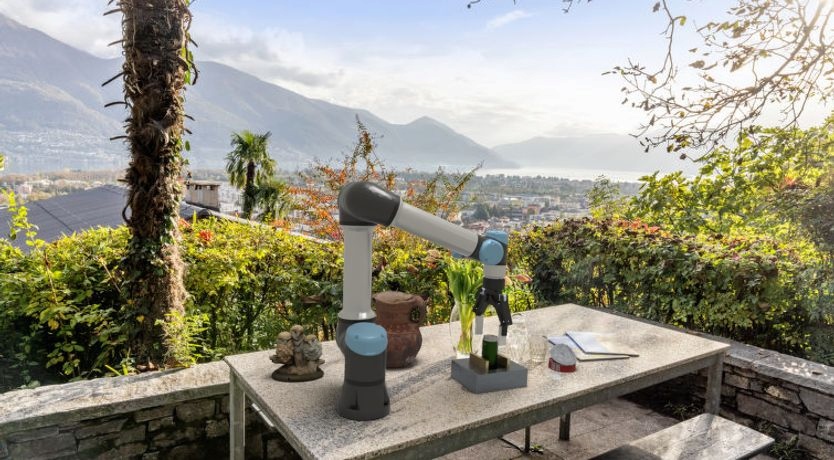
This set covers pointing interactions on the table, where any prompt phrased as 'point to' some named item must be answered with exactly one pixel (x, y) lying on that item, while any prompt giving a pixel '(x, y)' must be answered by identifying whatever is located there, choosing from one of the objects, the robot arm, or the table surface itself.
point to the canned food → (562, 359)
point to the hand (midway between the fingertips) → (489, 339)
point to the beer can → (490, 350)
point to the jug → (400, 325)
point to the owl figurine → (297, 356)
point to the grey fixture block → (488, 374)
